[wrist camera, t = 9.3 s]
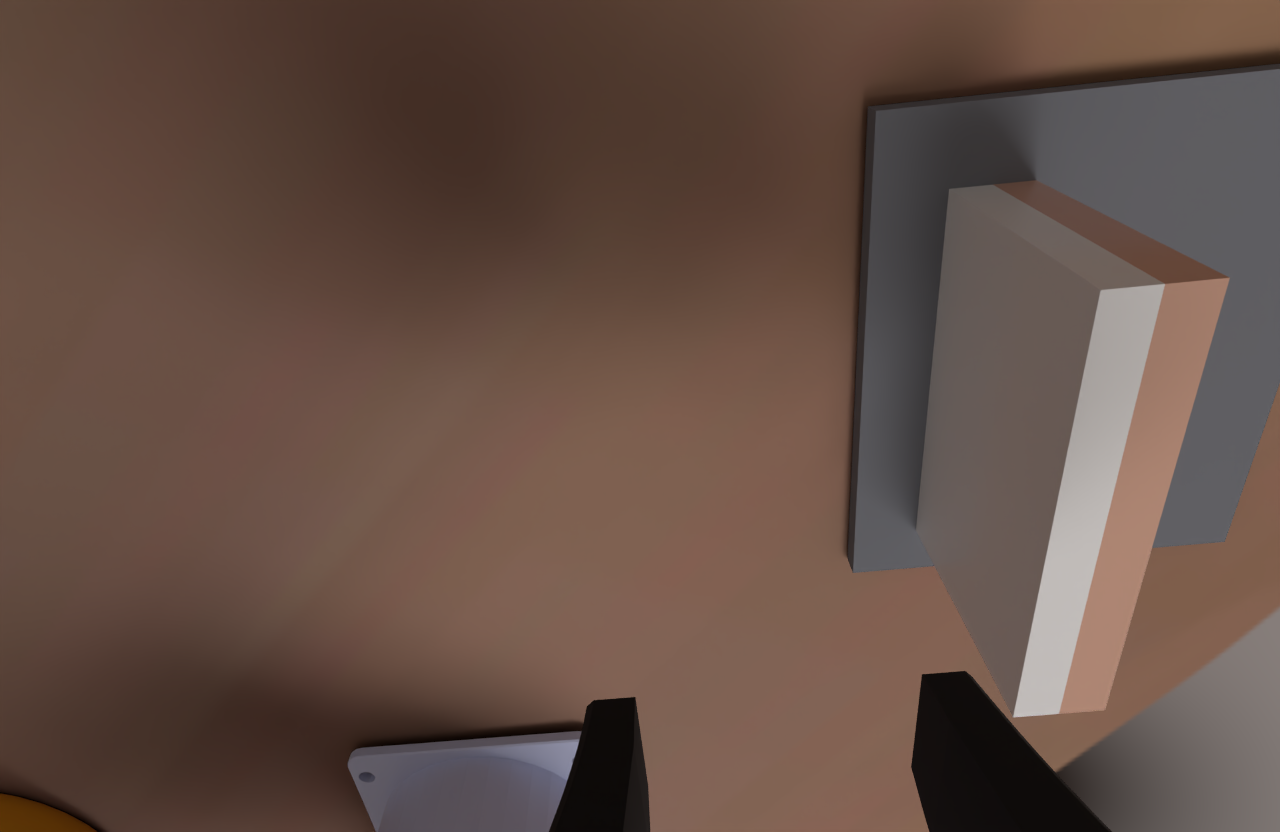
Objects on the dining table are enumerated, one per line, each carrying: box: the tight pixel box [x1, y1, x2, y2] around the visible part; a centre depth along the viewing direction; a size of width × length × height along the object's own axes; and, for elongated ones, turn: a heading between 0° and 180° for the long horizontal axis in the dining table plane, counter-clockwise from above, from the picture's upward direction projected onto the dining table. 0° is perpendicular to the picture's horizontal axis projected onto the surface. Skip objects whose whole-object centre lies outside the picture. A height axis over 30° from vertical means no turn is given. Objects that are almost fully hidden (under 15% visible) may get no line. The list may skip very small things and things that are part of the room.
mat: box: [848, 64, 1280, 573], centre depth 19 cm, size 12×10×1 cm
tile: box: [916, 180, 1230, 717], centre depth 16 cm, size 9×2×6 cm, turn 5°
